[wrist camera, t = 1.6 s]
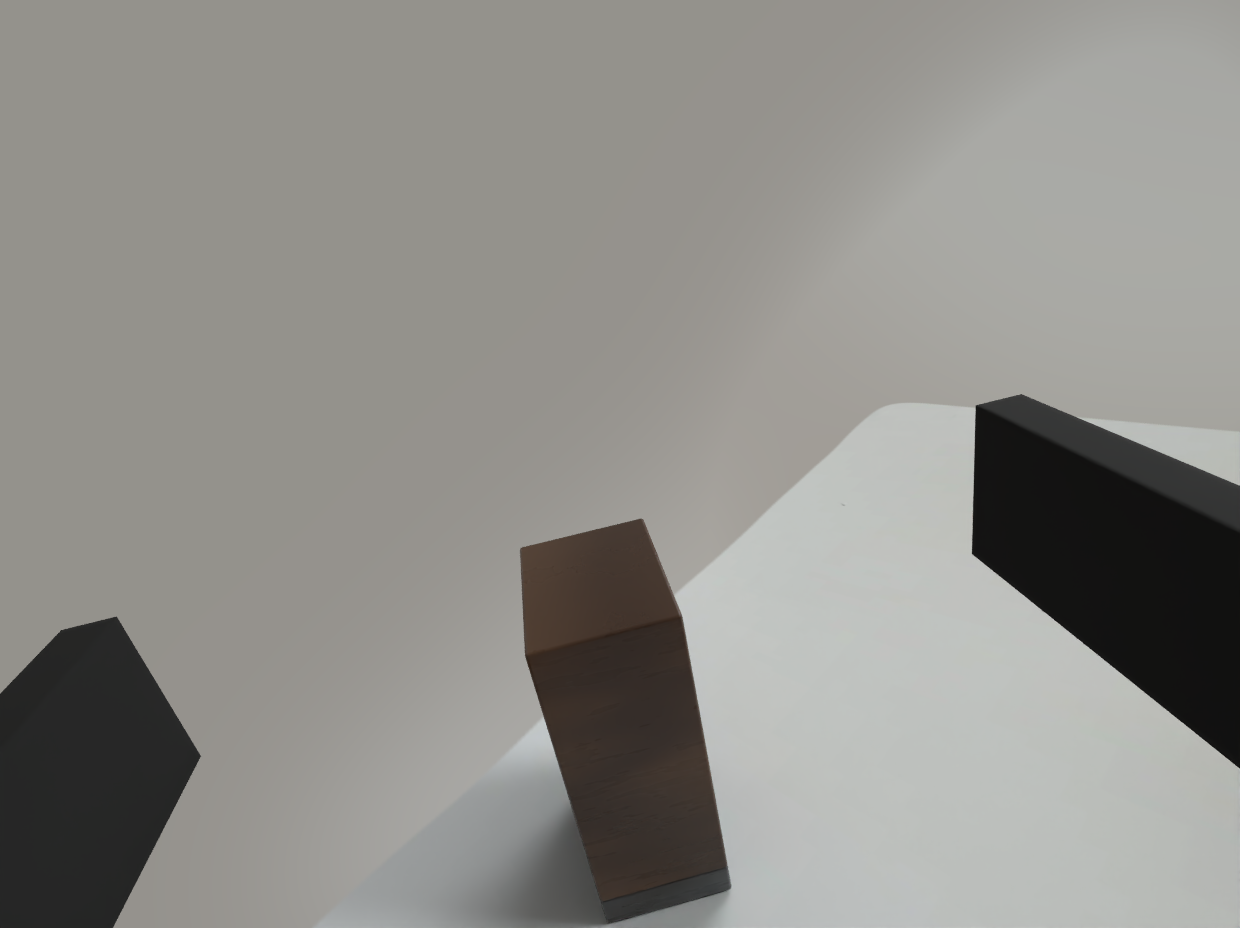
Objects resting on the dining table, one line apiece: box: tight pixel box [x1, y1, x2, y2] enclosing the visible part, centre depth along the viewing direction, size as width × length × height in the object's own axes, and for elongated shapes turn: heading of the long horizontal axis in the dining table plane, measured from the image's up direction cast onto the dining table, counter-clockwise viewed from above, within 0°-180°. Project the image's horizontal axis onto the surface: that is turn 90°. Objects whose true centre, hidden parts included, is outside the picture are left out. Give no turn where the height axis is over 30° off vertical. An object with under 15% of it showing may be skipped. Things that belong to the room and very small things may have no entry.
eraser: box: [520, 519, 731, 923], centre depth 24 cm, size 4×6×12 cm
